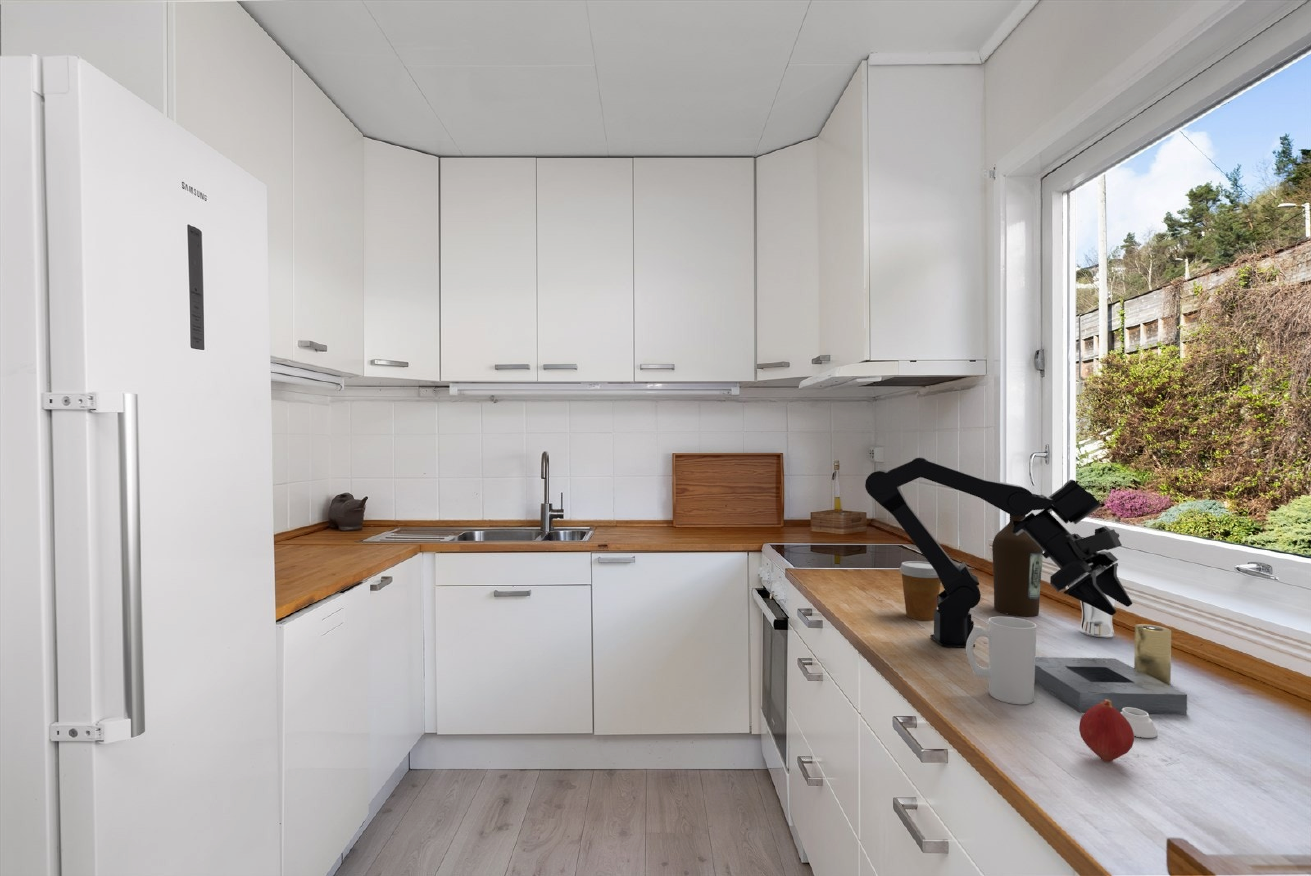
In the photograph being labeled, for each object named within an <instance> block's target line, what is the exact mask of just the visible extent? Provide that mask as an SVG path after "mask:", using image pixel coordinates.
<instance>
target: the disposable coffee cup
mask: <svg viewBox="0 0 1311 876" xmlns="http://www.w3.org/2000/svg"><path fill="white" fill-rule="evenodd" d="M899 571H900V573H901V579H902V588H903V589H902V590H903V597H904V605H905V607H904V608H905V614H906V615H905V616H906V617H908V618H910V619H914V620H919V621H934V609H938V607H937V595H939V594H940V592H941V591H940V589H941V585H942V583H941V581H940V579H939V577H938V575H937V573H936V571H935V569H934V568H933V567H932V566H931V564H930V563H929V562H928V561H921V560H918V561H917V560H913V561H911V560H910V561H909V560H908V561H903V562H901V566H900V567H899Z"/></svg>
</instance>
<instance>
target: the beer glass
mask: <svg viewBox="0 0 1311 876" xmlns="http://www.w3.org/2000/svg"><path fill="white" fill-rule="evenodd" d="M1113 564H1114V563H1113ZM1113 564H1112V565H1113ZM1112 565H1111V566H1112ZM1104 595H1105V596H1106V597H1107V599H1108V600H1109V601H1110V603H1111V604H1112V605H1113V607H1114V608H1115V606H1116V605H1115V604H1116V600H1114V599H1113V598H1111V597H1109V596H1108V595H1106V594H1105V593H1104ZM1079 602H1080V606H1081V622H1080V626H1079V632H1080V633H1081V632H1082V633H1081V634H1083V635H1087V636H1090V637H1095V638H1103V639H1110V638H1114V637H1115V631H1114V627H1113V615H1109V614H1107V613H1105V612H1103V611H1101V610H1099V609H1097V608H1095V607H1093V606H1091V605H1089V604H1087V603H1085V602H1083V601H1080V600H1079Z"/></svg>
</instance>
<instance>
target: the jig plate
mask: <svg viewBox="0 0 1311 876" xmlns="http://www.w3.org/2000/svg"><path fill="white" fill-rule="evenodd" d="M1034 684H1037V685H1038V686H1040V687H1041V688H1043V689H1044V690H1046V691H1047V692H1049V693H1051V694H1052V695H1053V696H1054V697H1057V699H1059V700H1061V701H1063V702H1064V703H1065V704H1067V705H1068V706H1070V707H1071V708H1072V709H1074V710H1076V712H1078V713H1085V712H1086V711H1087V710H1089V709H1090V708H1091V707H1093V706H1095V705H1098V704H1100V703H1102V702H1103V701H1104V700H1105V699H1106V700H1110V701H1111V704H1112V706H1113V707H1114V708H1115V709H1116V710H1118V711H1119V712H1122V709H1123V708H1125V707H1130V708H1136V709H1140V710H1143V711H1145V712H1147V713H1148V714H1149V715H1151V714H1152V715H1153V714H1154V715H1156V714H1157V715H1188V714H1187V713H1188V694H1187V693H1184V692H1183V691H1181V690H1179V689H1177V688H1175V687H1174V686H1173V687H1172V686H1171V685H1167V684H1165V683H1163V682H1161V681H1159V680H1157V679H1155V678H1153V677H1151V676H1149V675H1147V674H1145V673H1143V672H1141V671H1139V670H1137V669H1135V668H1134V666H1131V665H1129V664H1127V663H1125V662H1124V661H1121V660H1120V659H1117V658H1112V657H1111V658H1110V657H1107V658H1106V657H1104V658H1103V657H1101V658H1099V657H1055V656H1051V657H1050V656H1049V657H1048V656H1047V657H1046V656H1035V680H1034Z"/></svg>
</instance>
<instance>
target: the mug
mask: <svg viewBox="0 0 1311 876" xmlns="http://www.w3.org/2000/svg"><path fill="white" fill-rule="evenodd" d="M1037 625H1038V624H1036V623H1035V622H1033V621H1031V620H1028V619H1023V618H1018V617H1013V616H993V617H989V618H988V628H983V627H982V626H979V625H975V624H974V626H973V630H972V632H971V633H970V635H969V637H968V640H967V643H966V647H965V652H966V656H967V661H968V662H969V664H970V665H969V666H970V667H971V670H972V672H973V674H974V676H976V677H983V678H986V679H988V692H989V695H990V696H991V697H992V698H994V699H996V700H998V701H1000V702H1004V703H1007V704H1012V705H1020V706H1021V705H1030V704H1032V703H1033V702H1034V697H1035V695H1034V694H1035V693H1034V691H1035V682H1034V680H1035V657H1036V652H1037V651H1036V650H1037V649H1036V648H1037V647H1036V646H1037ZM980 637H985V638H987V639H988V666H986V667H985V666H980V665H979V663H978V662H977V660H976V659H975V654H974V647H973V645H974V644H975V642H976V641H977V640H978V639H979V638H980Z"/></svg>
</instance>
